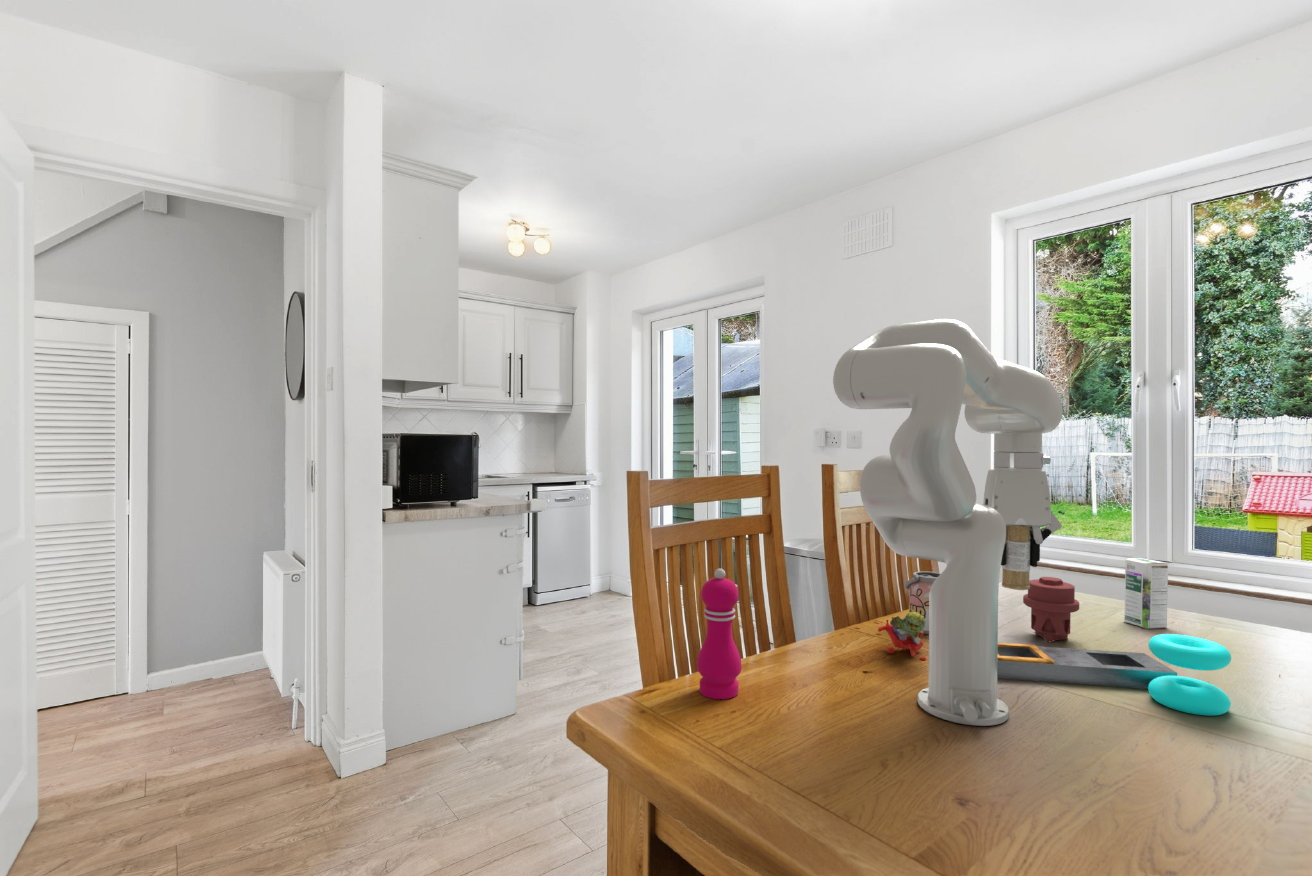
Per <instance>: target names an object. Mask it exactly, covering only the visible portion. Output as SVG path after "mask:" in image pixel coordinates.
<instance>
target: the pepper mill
mask: <svg viewBox="0 0 1312 876" xmlns="http://www.w3.org/2000/svg"><path fill="white" fill-rule="evenodd" d="M725 577H726V571H725V570H724V569H723V568H717V569H715V571H714V577H711V578H710V579H708V580H706V582H704V584H703V585H702V587H701V592H700V593H701V594H700V597H701V601H702V602H703V604H704V605H705V607H704V609H703V610H704V614H703V617H704V618H705V619H706V625H707V627H706V635H705V639H704V641H703V644H702V646H701V648H700V651H699V653H698V656H697V661H696V668H697V672H698V673H699V674H700V676H701V678H700V679H699V693H700V694H701V695H702V696H703V697H705V698H708V699H711V700H720V699H722V700H729V698H731V699H733V698H735V697H737V696H738V695H739V686H740V685H739V681H738V680H737V679H736V678H737V677H739V676H740V674H741V672H742V668H743V667H742V659H741V654H740V652H739V649H738V647H737V645H736V643H735V640H734V636H733V628H732V627H733V626H732V625H733V620H734V619H735V618H736V614H735V612H736V609H735V608H734V607H735V605H736V604H737V602H738V600H739V589H738V587H737V585H736V584H735V582H734V581H732V580H730V579H729V578H725ZM737 694H738V695H737ZM736 695H737V696H736ZM732 697H733V698H732Z"/></svg>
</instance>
